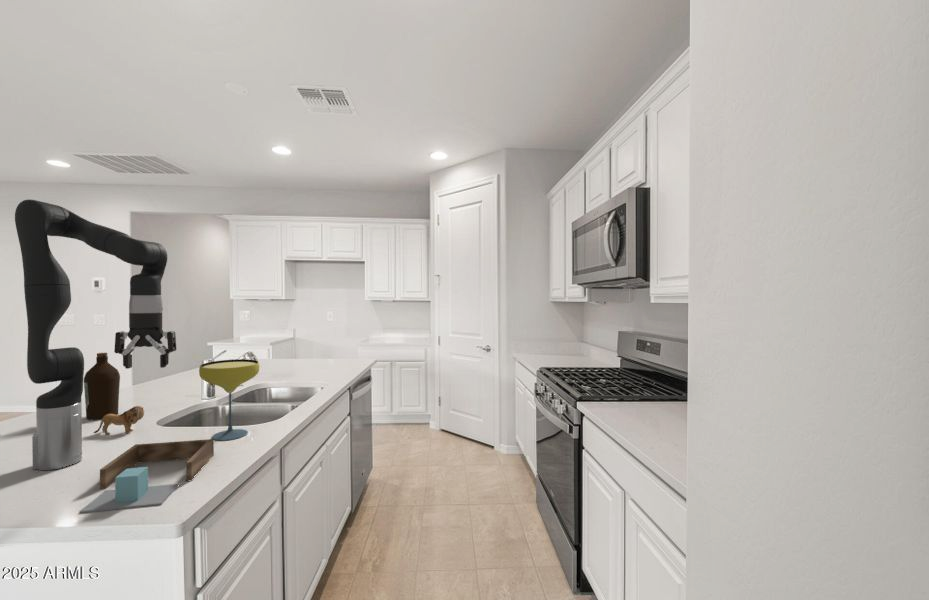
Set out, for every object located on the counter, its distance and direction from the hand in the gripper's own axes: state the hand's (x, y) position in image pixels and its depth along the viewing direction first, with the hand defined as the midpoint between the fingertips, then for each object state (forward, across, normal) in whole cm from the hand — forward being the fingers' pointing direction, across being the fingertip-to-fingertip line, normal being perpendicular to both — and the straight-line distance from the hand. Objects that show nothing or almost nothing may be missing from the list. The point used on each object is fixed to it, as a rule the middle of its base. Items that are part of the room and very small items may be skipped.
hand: (146, 367), depth 118 cm
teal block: (+28, +6, -21) cm, 35 cm away
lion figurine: (+28, -22, +32) cm, 48 cm away
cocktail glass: (+28, +16, +21) cm, 39 cm away
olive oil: (+28, -38, +54) cm, 72 cm away
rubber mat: (+28, +6, -21) cm, 36 cm away
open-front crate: (+28, +6, -6) cm, 29 cm away
